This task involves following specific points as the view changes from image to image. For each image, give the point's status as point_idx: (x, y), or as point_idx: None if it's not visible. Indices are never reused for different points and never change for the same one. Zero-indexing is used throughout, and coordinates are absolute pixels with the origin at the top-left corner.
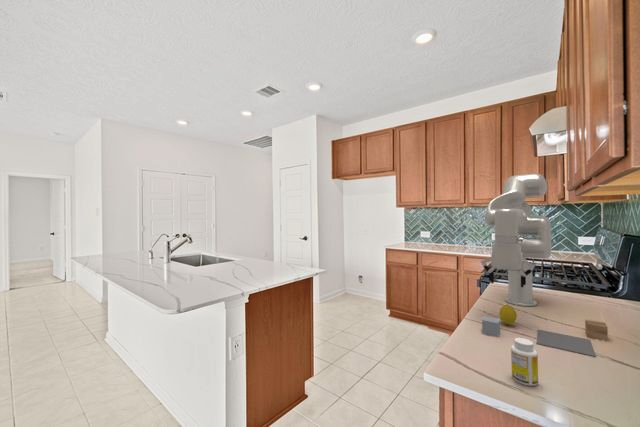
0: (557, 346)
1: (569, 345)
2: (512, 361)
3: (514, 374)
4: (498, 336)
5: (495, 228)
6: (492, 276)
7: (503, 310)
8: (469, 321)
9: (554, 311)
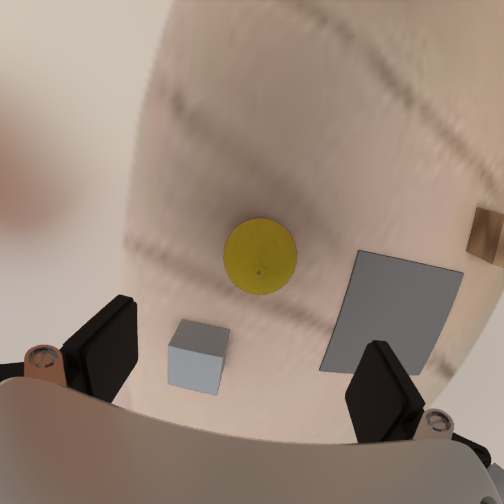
0: None
1: (397, 346)
2: None
3: None
4: (223, 367)
5: None
6: (109, 398)
7: (238, 287)
8: (130, 265)
9: (432, 14)
